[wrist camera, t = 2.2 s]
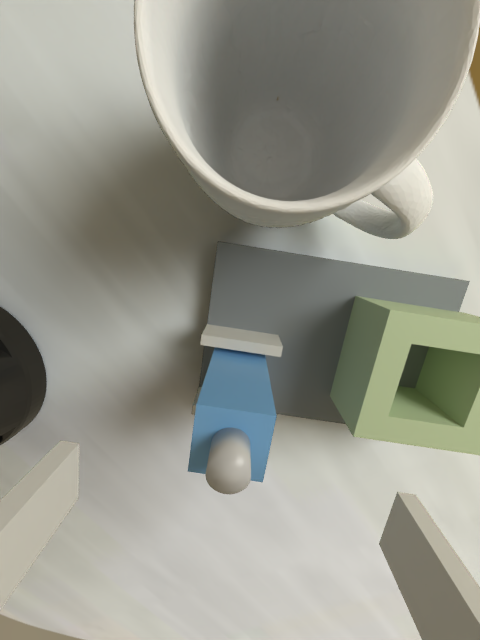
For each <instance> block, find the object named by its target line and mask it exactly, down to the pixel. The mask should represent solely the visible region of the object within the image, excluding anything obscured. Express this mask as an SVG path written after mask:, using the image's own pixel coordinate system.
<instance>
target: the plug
mask: <svg viewBox="0 0 480 640" xmlns="http://www.w3.org/2000/svg"><path fill="white" fill-rule="evenodd" d="M275 421H276V410H275V405H274V400H273V394H272V389H271V384H270V378H269V373H268V368H267V362H266V357H265V355H264V354H257V353H250V352H244V351H237V350H231V349H224V348H217V347H215V348H214V351H213V355H212V358H211V361H210V364H209V367H208V370H207V373H206V376H205V379H204V382H203V385H202V388H201V391H200V395H199V398H198V401H197V404H196V411H195V419H194V427H193V434H192V442H191V450H190V458H189V466H188V471H189V472H196V473H202V474H206V480H207V482H208V484H209V485H210V486H211V487H212V488H213V489H214V490H216V491H218V492H220V493H223V494H235V493H238V492H240V491H242V490H244V489H245V488H246V487H247V486H248V484H249V483H250V480H251V481H258V482H263V478H264V474H265V469H266V464H267V459H268V455H269V450H270V445H271V440H272V436H273V431H274V426H275Z"/></svg>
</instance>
